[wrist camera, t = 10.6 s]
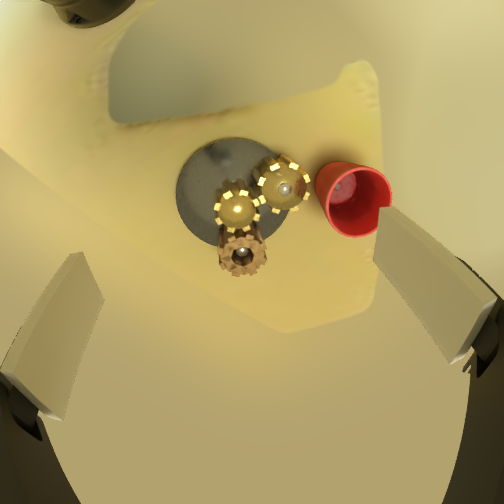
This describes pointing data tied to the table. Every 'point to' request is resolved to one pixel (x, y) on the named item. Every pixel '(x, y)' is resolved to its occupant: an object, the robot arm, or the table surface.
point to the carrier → (238, 189)
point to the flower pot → (352, 197)
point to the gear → (245, 239)
